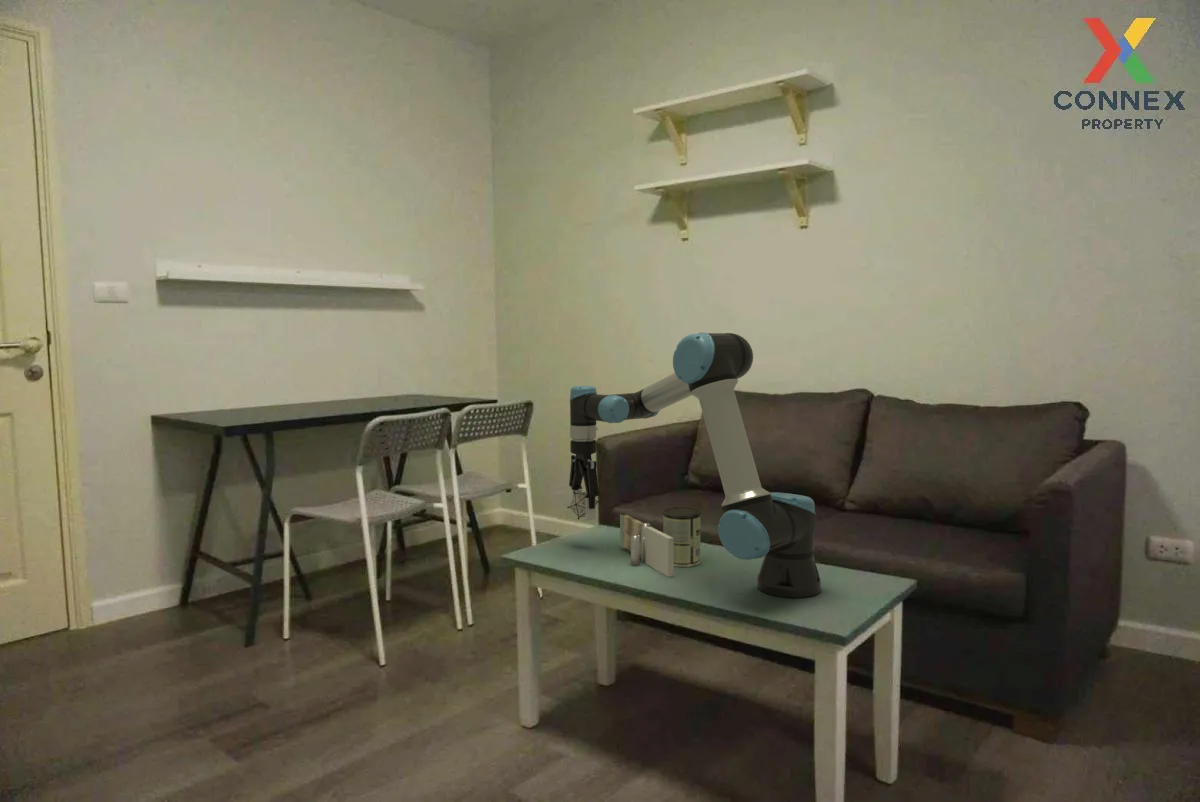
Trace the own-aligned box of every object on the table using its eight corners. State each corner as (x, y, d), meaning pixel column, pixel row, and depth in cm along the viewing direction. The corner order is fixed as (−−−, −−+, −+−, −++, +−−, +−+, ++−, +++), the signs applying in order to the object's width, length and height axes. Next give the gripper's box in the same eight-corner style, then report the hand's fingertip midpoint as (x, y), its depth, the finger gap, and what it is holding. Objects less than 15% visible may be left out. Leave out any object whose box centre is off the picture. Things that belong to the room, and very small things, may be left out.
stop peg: (641, 565, 207) (641, 536, 206) (633, 566, 206) (633, 537, 206) (637, 562, 209) (637, 534, 209) (629, 564, 208) (629, 534, 208)
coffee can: (662, 555, 216) (663, 506, 215) (700, 556, 215) (700, 507, 214) (662, 566, 206) (662, 514, 205) (701, 567, 205) (701, 515, 204)
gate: (646, 556, 212) (646, 523, 212) (639, 556, 211) (639, 524, 211) (626, 544, 224) (626, 514, 223) (620, 545, 223) (620, 514, 222)
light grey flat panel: (673, 576, 198) (673, 538, 197) (668, 577, 197) (668, 538, 196) (650, 562, 209) (650, 526, 209) (645, 563, 209) (645, 527, 208)
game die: (589, 531, 223) (599, 508, 217) (561, 521, 223) (570, 497, 217) (595, 510, 231) (605, 487, 225) (569, 500, 230) (578, 477, 224)
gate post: (651, 562, 210) (651, 524, 209) (643, 563, 209) (643, 525, 208) (647, 559, 212) (647, 522, 211) (639, 560, 211) (639, 523, 210)
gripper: (611, 443, 213) (611, 522, 215) (581, 434, 234) (581, 506, 236) (585, 445, 211) (586, 525, 212) (557, 435, 231) (558, 508, 233)
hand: (583, 515), depth 224 cm, fingers closed on game die, 10 cm apart
